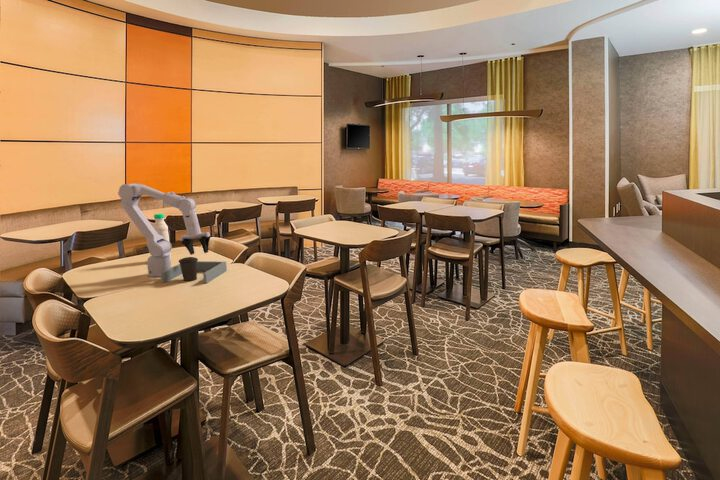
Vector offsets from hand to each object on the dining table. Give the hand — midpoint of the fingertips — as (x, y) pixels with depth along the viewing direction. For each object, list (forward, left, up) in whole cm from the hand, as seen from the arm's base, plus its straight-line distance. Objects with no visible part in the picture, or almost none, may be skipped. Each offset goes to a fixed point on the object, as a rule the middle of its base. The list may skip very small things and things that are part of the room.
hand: (199, 253), depth 187 cm
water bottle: (-33, +23, -10) cm, 41 cm away
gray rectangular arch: (-1, -4, -10) cm, 11 cm away
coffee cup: (-1, -9, -10) cm, 14 cm away
